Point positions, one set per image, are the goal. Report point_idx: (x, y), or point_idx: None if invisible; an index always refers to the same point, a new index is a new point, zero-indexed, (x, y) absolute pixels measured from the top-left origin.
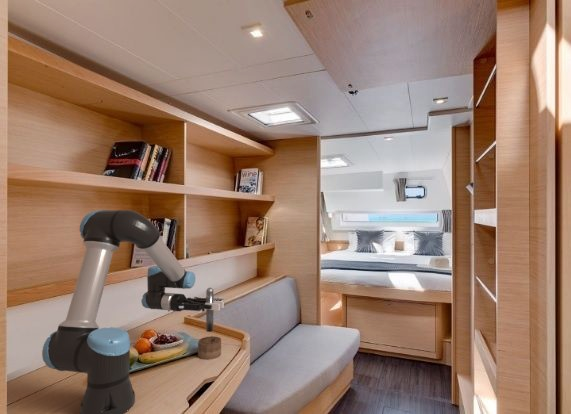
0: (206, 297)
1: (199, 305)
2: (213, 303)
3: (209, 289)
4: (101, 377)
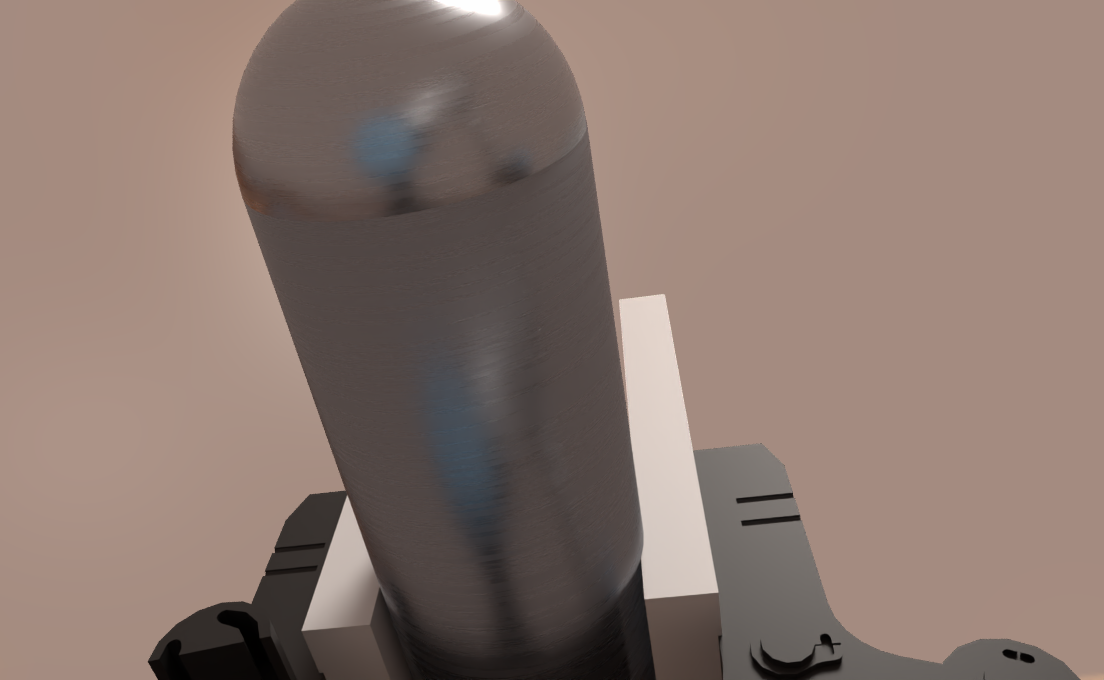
0: (580, 441)
1: (1058, 675)
2: (656, 387)
3: (519, 4)
4: None
